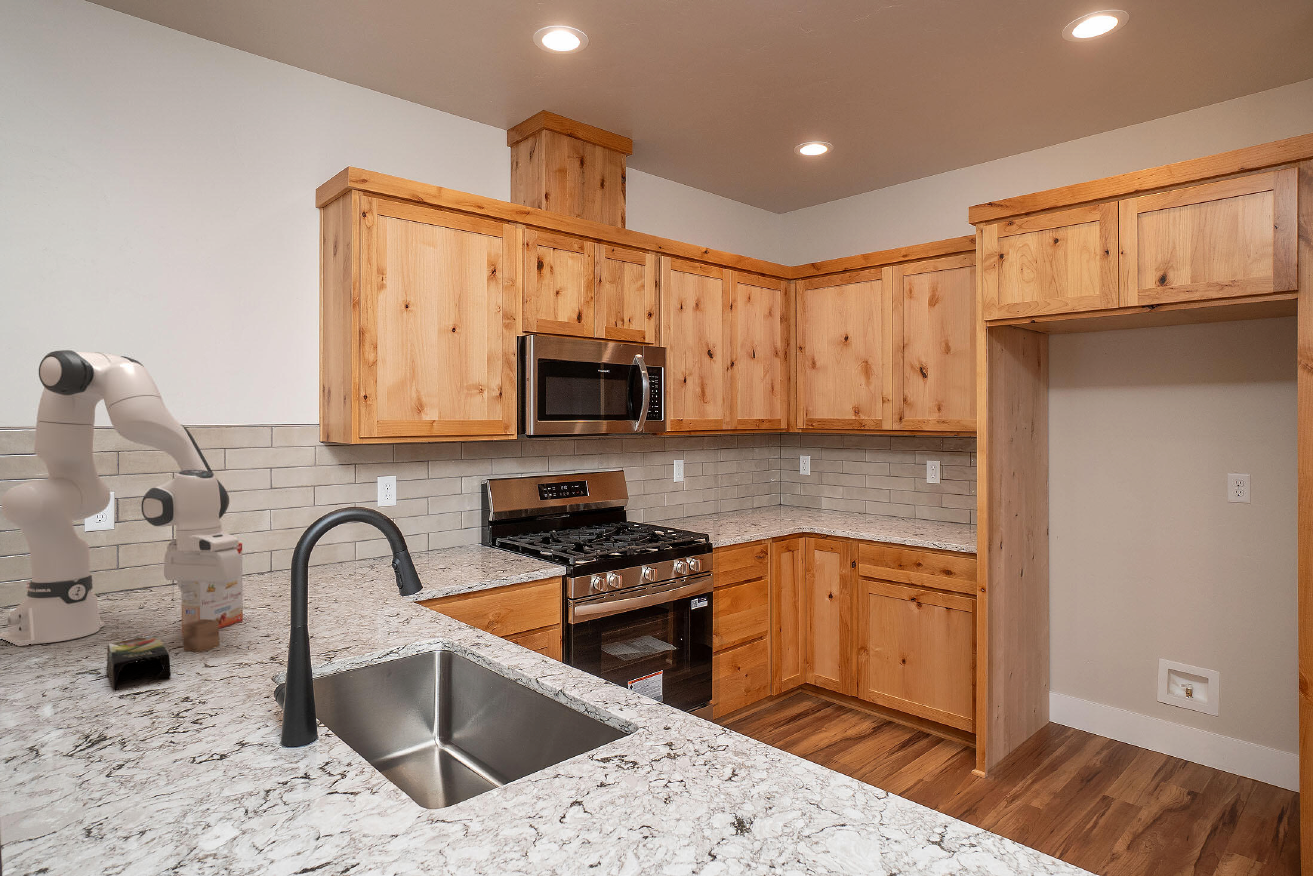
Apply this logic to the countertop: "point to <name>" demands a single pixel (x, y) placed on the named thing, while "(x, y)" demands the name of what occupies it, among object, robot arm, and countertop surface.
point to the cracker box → (218, 611)
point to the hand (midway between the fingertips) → (202, 600)
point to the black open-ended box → (136, 655)
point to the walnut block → (200, 635)
